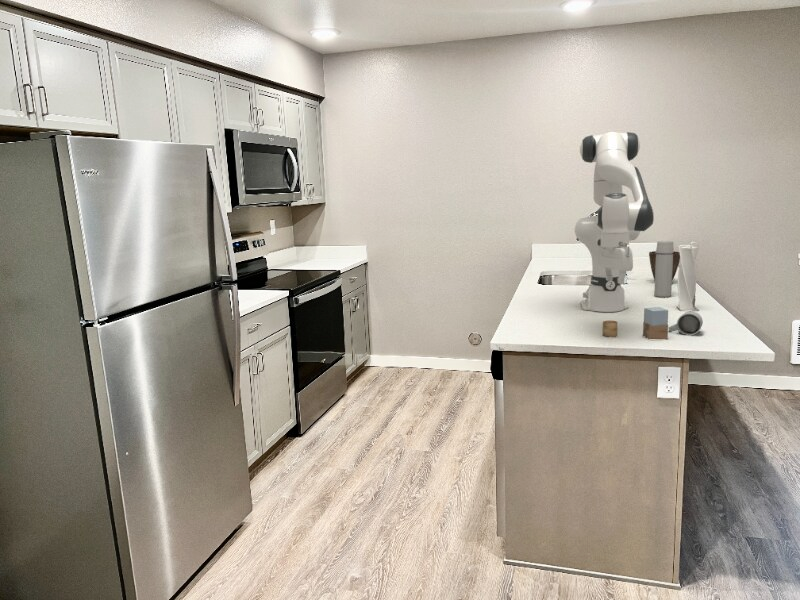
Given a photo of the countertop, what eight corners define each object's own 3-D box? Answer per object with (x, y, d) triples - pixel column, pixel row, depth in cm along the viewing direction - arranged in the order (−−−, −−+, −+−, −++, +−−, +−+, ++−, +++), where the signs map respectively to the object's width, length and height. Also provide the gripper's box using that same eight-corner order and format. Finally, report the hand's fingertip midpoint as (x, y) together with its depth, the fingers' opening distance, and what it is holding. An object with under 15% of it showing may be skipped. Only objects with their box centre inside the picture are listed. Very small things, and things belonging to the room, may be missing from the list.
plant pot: (656, 280, 316) (658, 250, 313) (685, 283, 305) (686, 251, 302) (642, 284, 307) (643, 253, 304) (670, 287, 295) (672, 254, 292)
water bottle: (674, 297, 269) (677, 242, 264) (657, 298, 269) (659, 242, 265) (666, 294, 278) (668, 240, 273) (649, 294, 278) (651, 241, 274)
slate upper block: (643, 322, 205) (644, 307, 205) (658, 321, 206) (659, 306, 205) (652, 325, 200) (652, 311, 199) (667, 324, 201) (668, 310, 200)
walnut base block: (642, 335, 207) (643, 321, 206) (660, 335, 207) (660, 321, 206) (649, 340, 201) (650, 325, 200) (667, 339, 201) (668, 325, 200)
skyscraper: (700, 311, 239) (703, 242, 234) (678, 311, 241) (681, 242, 236) (694, 307, 247) (697, 240, 242) (673, 307, 249) (676, 240, 244)
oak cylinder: (600, 334, 211) (601, 320, 210) (614, 334, 211) (614, 320, 210) (605, 337, 206) (605, 323, 205) (619, 337, 206) (619, 323, 205)
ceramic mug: (702, 331, 210) (703, 309, 208) (700, 336, 203) (701, 314, 202) (670, 329, 215) (670, 308, 214) (667, 334, 208) (667, 312, 207)
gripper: (638, 242, 193) (637, 285, 195) (612, 239, 213) (611, 278, 215) (619, 243, 192) (618, 286, 194) (594, 240, 212) (594, 279, 214)
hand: (614, 282), depth 205 cm, fingers open, 8 cm apart
